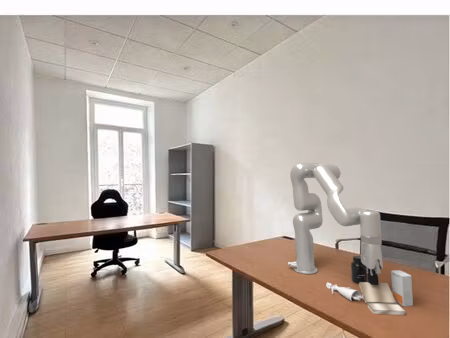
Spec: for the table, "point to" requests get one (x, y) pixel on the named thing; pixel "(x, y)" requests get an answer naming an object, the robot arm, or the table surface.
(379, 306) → the laid board
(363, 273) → the supplement bottle
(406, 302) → the skincare box
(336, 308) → the table surface
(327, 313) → the table surface
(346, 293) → the woman figurine
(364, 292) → the beige flat panel
